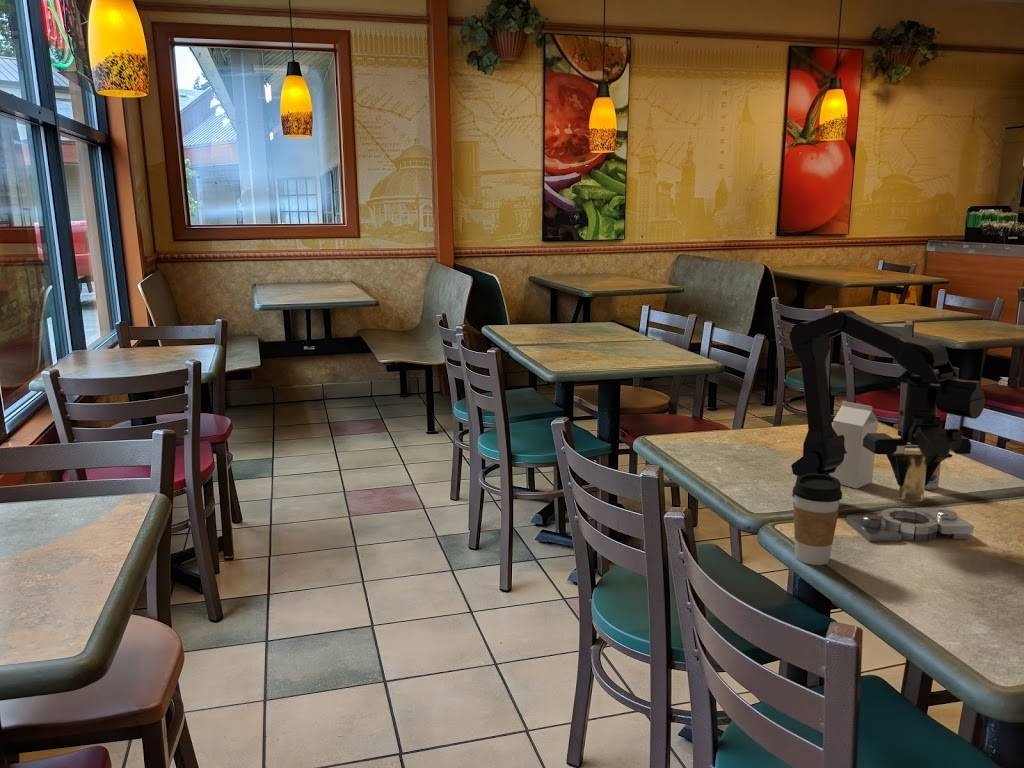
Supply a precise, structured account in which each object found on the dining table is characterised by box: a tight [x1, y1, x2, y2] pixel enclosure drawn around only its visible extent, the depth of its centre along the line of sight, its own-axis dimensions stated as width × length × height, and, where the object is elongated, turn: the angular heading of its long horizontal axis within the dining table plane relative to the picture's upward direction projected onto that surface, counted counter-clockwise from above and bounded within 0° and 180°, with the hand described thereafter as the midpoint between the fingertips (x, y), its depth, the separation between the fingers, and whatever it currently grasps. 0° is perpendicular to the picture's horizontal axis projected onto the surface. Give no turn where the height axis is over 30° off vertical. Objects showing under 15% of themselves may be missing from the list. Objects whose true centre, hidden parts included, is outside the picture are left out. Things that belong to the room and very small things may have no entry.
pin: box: [897, 450, 928, 503], centre depth 155 cm, size 4×4×9 cm
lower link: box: [846, 513, 938, 543], centre depth 157 cm, size 15×10×3 cm, turn 92°
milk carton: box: [829, 400, 879, 489], centre depth 185 cm, size 7×7×19 cm
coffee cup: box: [792, 474, 843, 566], centre depth 144 cm, size 8×8×15 cm
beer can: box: [917, 448, 942, 491], centre depth 183 cm, size 5×5×12 cm
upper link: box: [880, 507, 975, 540], centre depth 157 cm, size 15×10×4 cm, turn 92°
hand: (911, 485), depth 156 cm, fingers closed on pin, 4 cm apart
